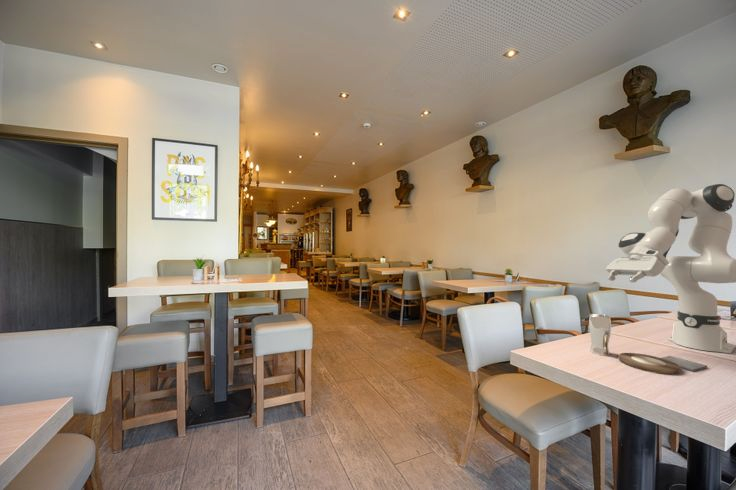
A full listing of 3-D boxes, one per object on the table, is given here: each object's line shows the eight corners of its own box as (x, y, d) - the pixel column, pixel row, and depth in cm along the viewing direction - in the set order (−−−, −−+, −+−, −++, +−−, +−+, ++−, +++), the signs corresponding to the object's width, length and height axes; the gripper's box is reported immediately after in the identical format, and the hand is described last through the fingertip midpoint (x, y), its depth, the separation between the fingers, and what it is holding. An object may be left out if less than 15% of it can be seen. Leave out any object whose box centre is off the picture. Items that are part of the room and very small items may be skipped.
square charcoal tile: (669, 357, 112) (669, 355, 112) (707, 367, 103) (707, 365, 103) (655, 361, 109) (655, 359, 109) (692, 371, 99) (692, 369, 99)
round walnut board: (633, 354, 116) (633, 350, 116) (690, 370, 101) (690, 365, 101) (609, 359, 110) (609, 355, 110) (665, 377, 95) (665, 372, 95)
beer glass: (615, 356, 113) (615, 318, 113) (594, 355, 114) (594, 317, 114) (604, 350, 120) (604, 314, 120) (585, 349, 121) (585, 313, 121)
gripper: (614, 252, 132) (594, 273, 131) (663, 251, 111) (639, 276, 110) (623, 262, 132) (603, 283, 131) (674, 263, 111) (650, 288, 110)
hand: (620, 280), depth 120 cm, fingers open, 8 cm apart
